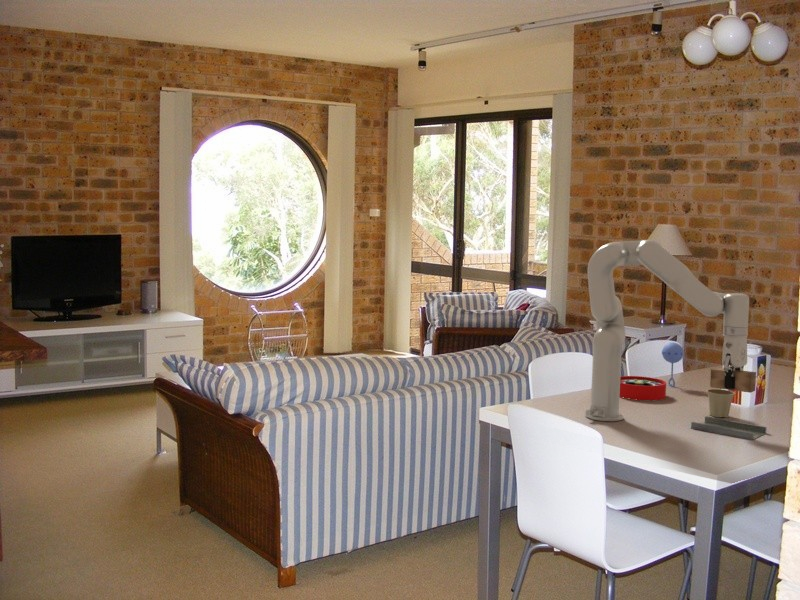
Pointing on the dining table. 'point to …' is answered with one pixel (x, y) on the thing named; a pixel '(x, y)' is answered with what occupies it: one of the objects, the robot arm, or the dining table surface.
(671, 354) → the baby rattle
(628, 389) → the toy clock
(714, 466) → the dining table surface
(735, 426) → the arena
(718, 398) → the flower pot
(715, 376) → the walnut block
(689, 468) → the dining table surface
